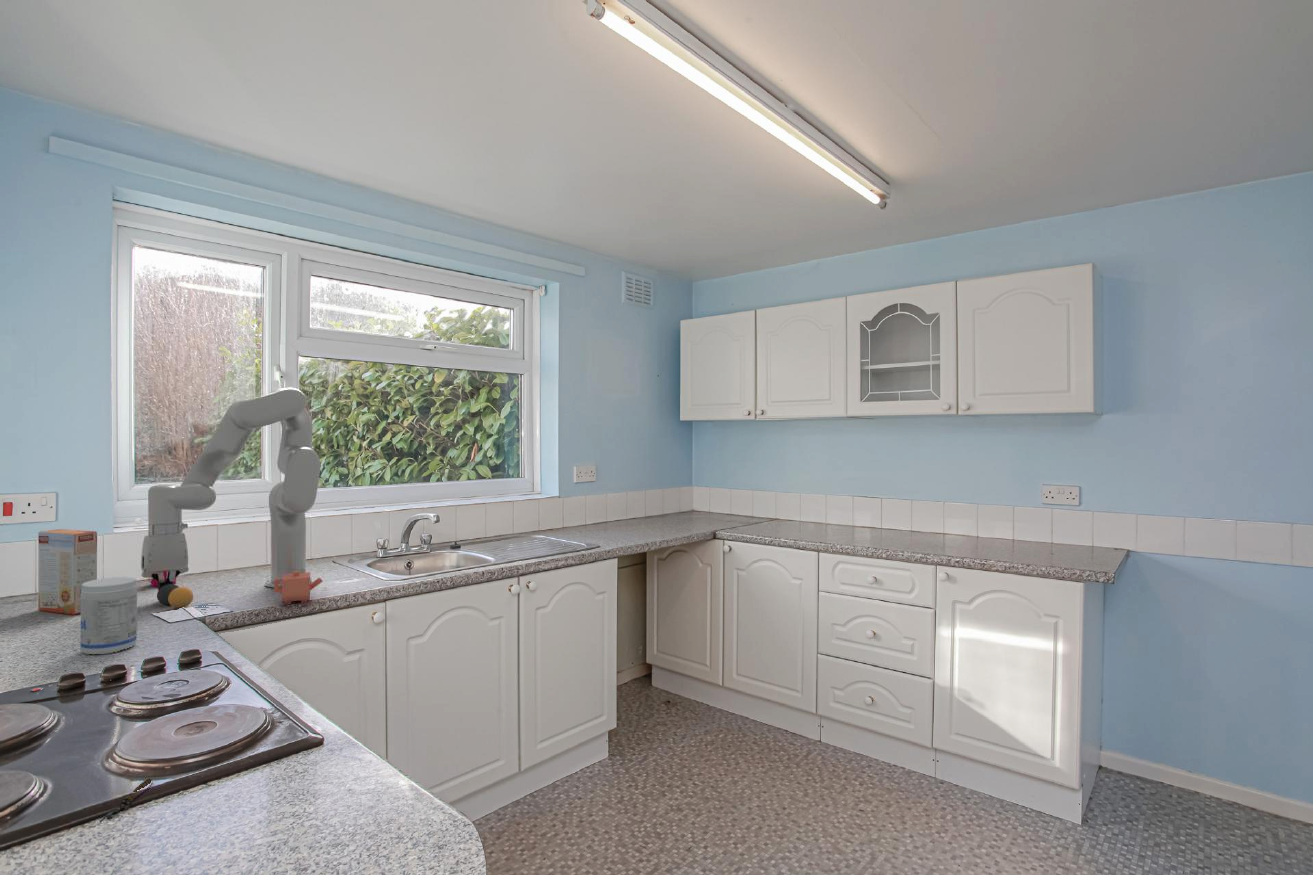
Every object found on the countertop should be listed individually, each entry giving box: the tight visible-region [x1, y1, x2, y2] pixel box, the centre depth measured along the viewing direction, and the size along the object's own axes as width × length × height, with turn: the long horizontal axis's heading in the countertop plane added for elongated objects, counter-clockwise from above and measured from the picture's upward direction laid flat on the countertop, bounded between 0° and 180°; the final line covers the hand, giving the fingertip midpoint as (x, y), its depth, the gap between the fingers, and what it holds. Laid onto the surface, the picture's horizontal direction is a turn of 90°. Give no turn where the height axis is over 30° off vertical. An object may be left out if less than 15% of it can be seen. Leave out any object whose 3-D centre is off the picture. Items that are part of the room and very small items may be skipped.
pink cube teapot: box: [273, 571, 323, 605], centre depth 190 cm, size 8×12×8 cm, turn 116°
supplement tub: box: [80, 576, 138, 656], centre depth 148 cm, size 10×10×15 cm
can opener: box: [99, 778, 153, 823], centre depth 87 cm, size 9×2×1 cm, turn 3°
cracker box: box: [37, 528, 98, 616], centre depth 179 cm, size 14×6×21 cm, turn 71°
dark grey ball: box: [156, 584, 179, 606], centre depth 185 cm, size 6×6×6 cm
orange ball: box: [168, 586, 194, 609], centre depth 182 cm, size 6×6×6 cm
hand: (165, 595), depth 189 cm, fingers closed
